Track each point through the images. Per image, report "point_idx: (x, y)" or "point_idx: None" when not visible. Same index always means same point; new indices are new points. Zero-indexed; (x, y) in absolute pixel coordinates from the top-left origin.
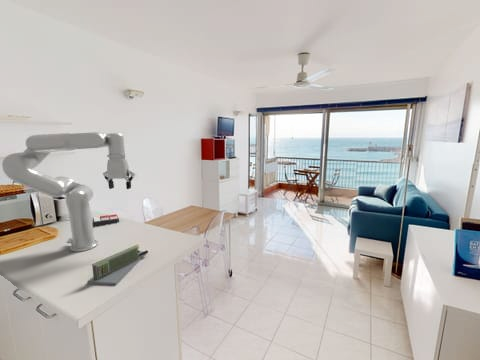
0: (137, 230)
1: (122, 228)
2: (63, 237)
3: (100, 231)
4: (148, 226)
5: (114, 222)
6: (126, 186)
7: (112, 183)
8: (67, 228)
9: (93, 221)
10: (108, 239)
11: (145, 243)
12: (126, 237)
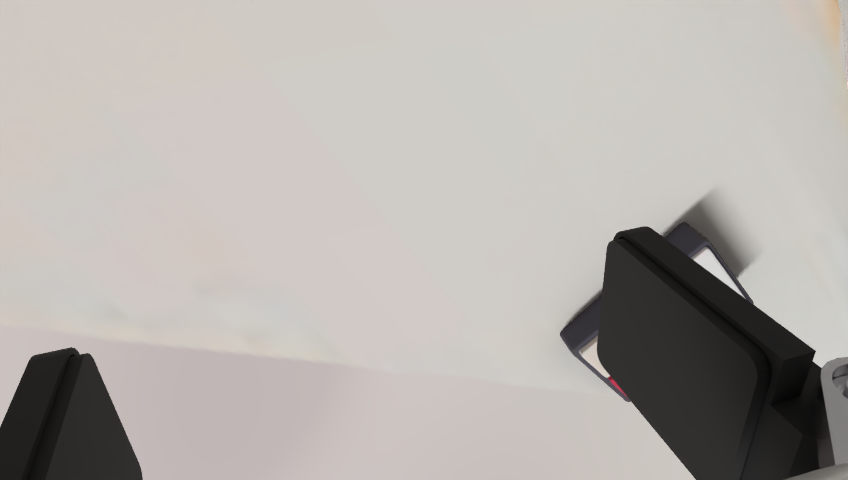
0: (322, 257)
1: (468, 256)
2: (791, 10)
3: (595, 167)
4: (287, 344)
5: (584, 317)
6: (59, 410)
7: (679, 411)
8: (836, 155)
9: (715, 251)
10: (440, 45)
11: (24, 31)
12: (315, 115)
